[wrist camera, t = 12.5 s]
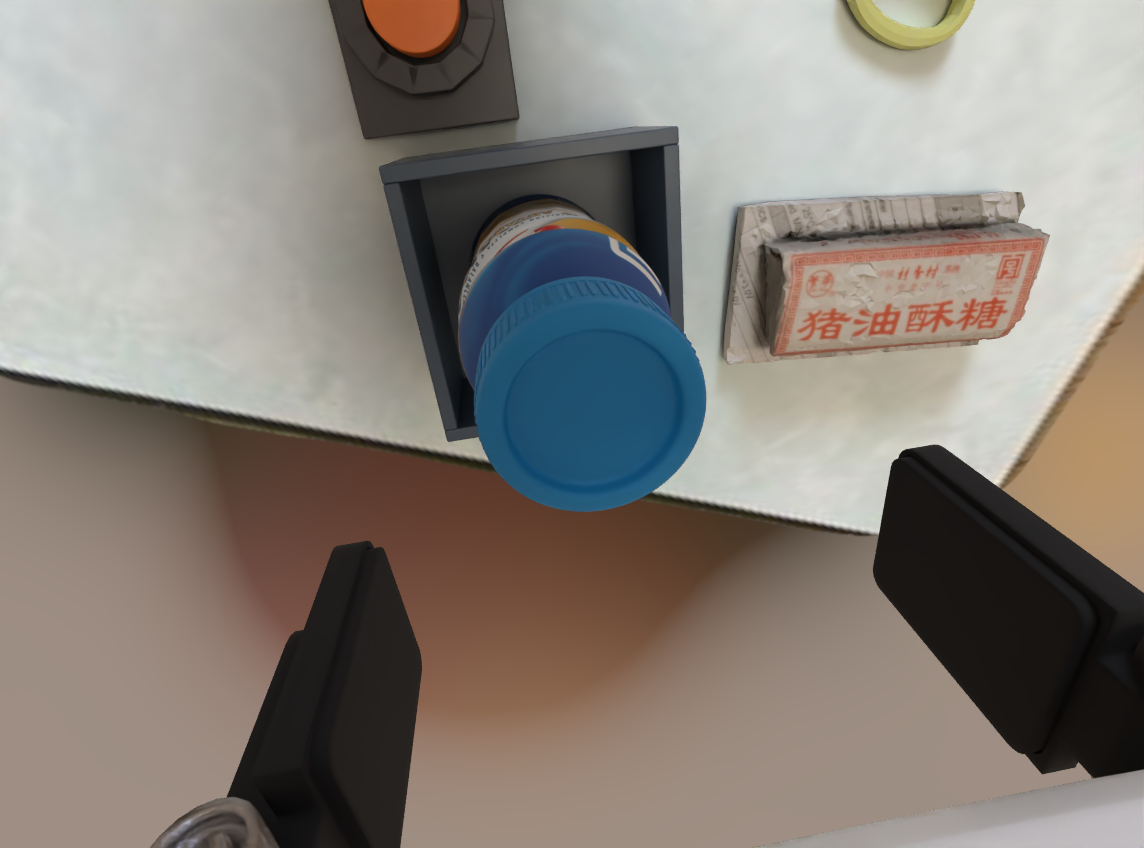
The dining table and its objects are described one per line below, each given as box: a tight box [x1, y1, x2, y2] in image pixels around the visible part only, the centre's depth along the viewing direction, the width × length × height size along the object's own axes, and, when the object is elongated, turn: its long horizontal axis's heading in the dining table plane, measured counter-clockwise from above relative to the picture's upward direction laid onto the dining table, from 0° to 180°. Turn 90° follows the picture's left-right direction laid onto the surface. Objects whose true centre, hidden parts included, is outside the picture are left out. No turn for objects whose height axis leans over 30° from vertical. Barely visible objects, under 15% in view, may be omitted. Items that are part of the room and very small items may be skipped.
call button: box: [363, 0, 461, 58], centre depth 25 cm, size 4×4×2 cm
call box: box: [329, 0, 519, 139], centre depth 27 cm, size 10×8×3 cm
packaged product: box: [723, 192, 1050, 365], centre depth 36 cm, size 18×5×10 cm
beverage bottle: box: [458, 194, 706, 512], centre depth 25 cm, size 8×8×20 cm
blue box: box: [379, 126, 684, 442], centre depth 31 cm, size 13×13×8 cm
